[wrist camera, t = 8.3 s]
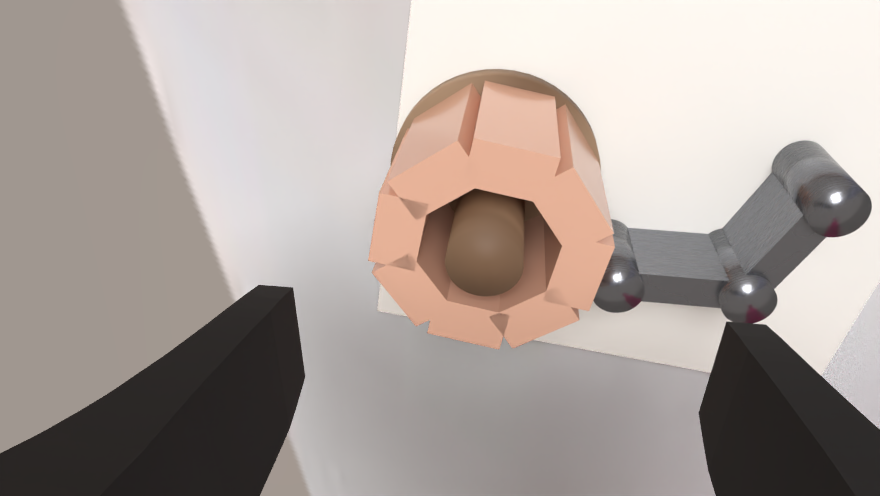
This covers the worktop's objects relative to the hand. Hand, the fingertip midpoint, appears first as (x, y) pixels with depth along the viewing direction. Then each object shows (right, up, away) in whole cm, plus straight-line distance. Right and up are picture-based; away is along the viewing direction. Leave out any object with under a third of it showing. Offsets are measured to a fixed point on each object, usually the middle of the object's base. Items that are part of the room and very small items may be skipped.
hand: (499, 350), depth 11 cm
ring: (+1, +4, +8) cm, 8 cm away
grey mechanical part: (+7, +3, +8) cm, 11 cm away
